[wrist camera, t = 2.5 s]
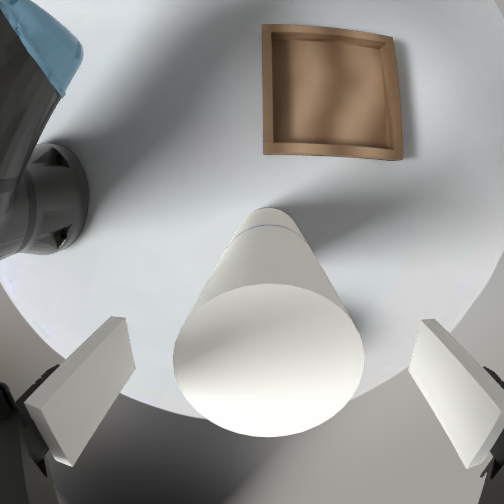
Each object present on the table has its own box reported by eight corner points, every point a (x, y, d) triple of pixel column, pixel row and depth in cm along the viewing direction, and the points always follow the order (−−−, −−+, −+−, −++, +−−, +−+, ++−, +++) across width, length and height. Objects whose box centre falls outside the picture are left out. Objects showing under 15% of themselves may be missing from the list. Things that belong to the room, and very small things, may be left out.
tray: (263, 154, 33) (263, 152, 30) (262, 35, 29) (261, 24, 26) (392, 160, 32) (402, 159, 29) (384, 46, 28) (392, 37, 25)
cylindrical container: (311, 229, 34) (400, 341, 10) (278, 280, 36) (292, 454, 12) (257, 195, 34) (231, 242, 9) (225, 249, 35) (147, 389, 11)
